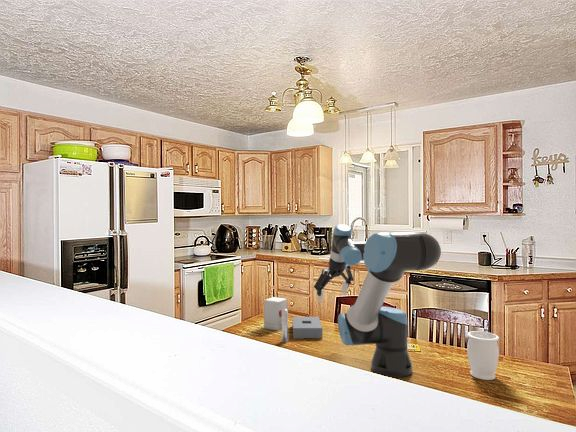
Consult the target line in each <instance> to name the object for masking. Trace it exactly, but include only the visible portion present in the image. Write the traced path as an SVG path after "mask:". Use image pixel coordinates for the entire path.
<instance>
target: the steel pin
mask: <svg viewBox="0 0 576 432" xmlns="http://www.w3.org/2000/svg"><path fill="white" fill-rule="evenodd" d="M288 342H289V309H288V308H287V309H282V329H281V343H288Z"/></svg>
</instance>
